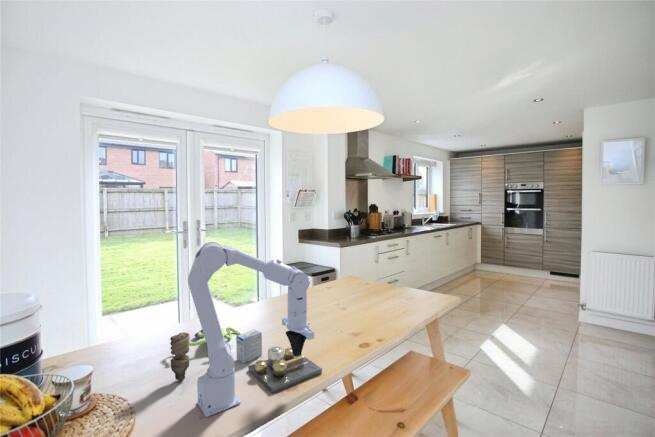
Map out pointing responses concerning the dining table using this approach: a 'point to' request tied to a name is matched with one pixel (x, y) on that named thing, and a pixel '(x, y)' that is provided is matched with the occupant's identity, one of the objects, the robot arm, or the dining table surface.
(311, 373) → the levelling base
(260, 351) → the medicine box
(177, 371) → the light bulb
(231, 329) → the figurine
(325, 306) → the dining table surface
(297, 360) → the brass lever handle
